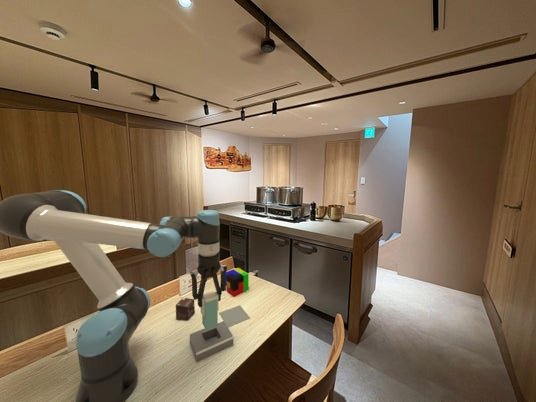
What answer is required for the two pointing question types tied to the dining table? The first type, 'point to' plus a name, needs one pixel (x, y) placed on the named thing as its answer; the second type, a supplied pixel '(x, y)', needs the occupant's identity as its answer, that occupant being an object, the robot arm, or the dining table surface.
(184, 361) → the dining table surface
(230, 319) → the mat
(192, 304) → the box
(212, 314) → the plug
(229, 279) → the puzzle toy
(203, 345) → the frame
